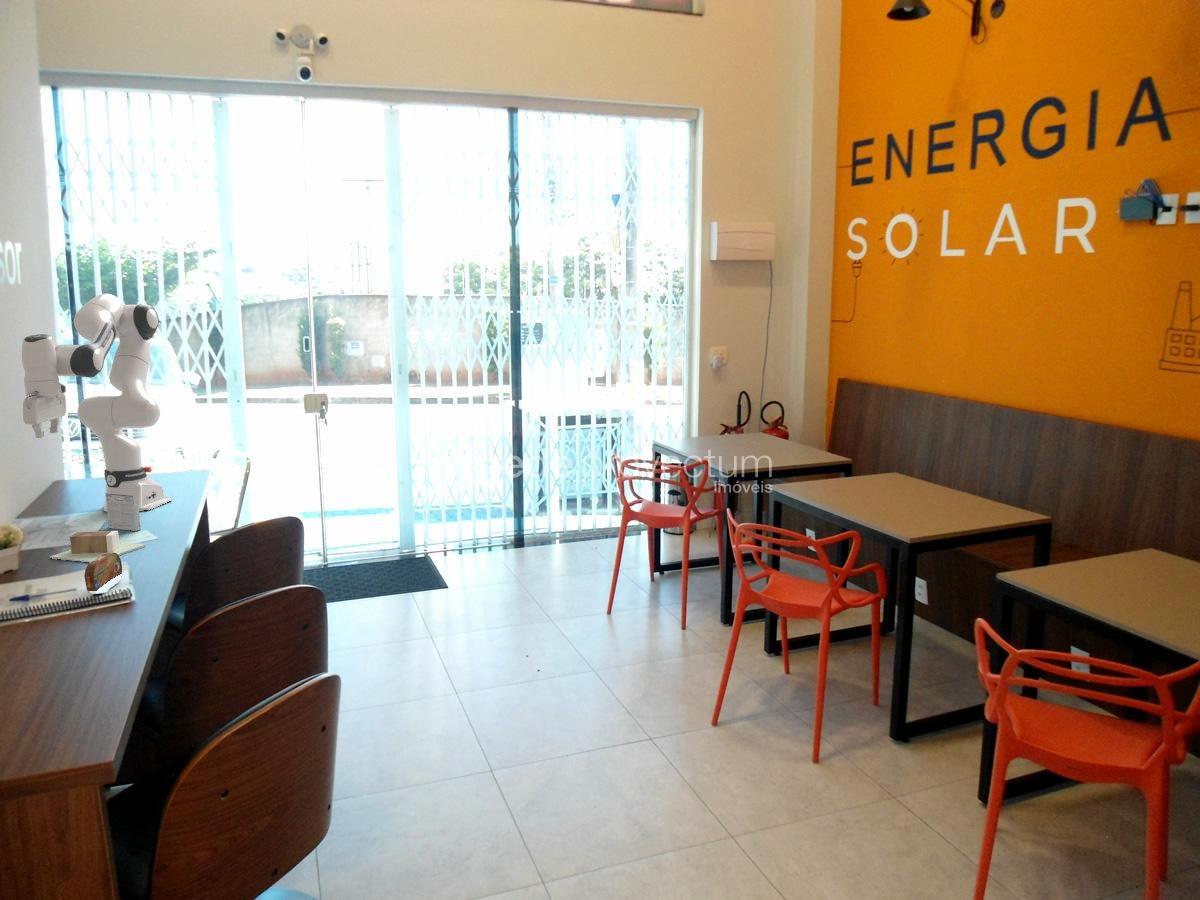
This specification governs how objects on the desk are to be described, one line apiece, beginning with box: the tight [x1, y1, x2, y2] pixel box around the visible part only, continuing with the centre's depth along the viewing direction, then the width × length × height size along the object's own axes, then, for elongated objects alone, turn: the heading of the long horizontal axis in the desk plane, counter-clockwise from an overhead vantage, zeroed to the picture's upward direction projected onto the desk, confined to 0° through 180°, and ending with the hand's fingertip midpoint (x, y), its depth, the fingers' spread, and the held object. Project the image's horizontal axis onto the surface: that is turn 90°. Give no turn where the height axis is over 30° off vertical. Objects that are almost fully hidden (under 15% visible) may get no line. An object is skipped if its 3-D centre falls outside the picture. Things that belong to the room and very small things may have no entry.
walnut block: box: [69, 530, 120, 554], centre depth 257 cm, size 5×5×11 cm
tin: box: [83, 553, 123, 592], centre depth 225 cm, size 15×3×8 cm, turn 5°
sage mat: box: [49, 541, 146, 563], centre depth 257 cm, size 18×16×1 cm
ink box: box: [104, 492, 141, 532], centre depth 281 cm, size 12×2×12 cm, turn 71°
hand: (47, 435), depth 270 cm, fingers open, 8 cm apart
